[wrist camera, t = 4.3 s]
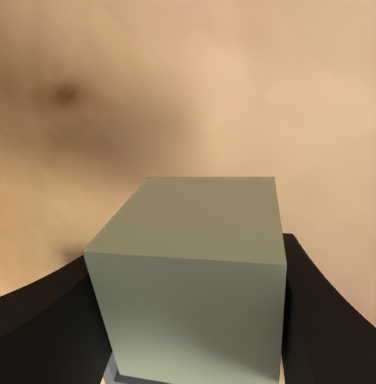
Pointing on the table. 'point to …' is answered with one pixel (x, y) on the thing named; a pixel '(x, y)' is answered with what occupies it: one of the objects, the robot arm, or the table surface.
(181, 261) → the cube
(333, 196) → the table surface
